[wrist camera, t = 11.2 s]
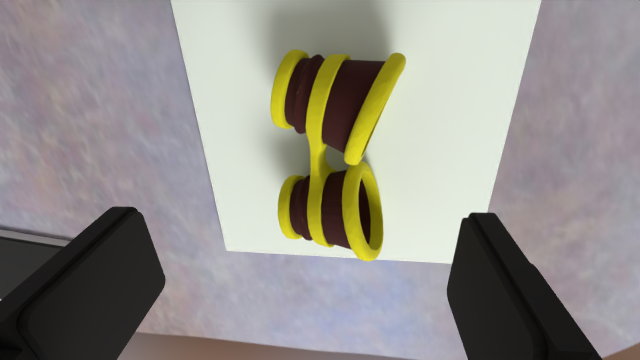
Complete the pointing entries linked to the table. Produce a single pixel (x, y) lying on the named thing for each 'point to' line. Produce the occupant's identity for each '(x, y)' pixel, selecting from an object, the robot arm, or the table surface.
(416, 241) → the mat
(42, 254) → the smartphone
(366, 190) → the opera glasses
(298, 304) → the table surface
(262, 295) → the table surface
